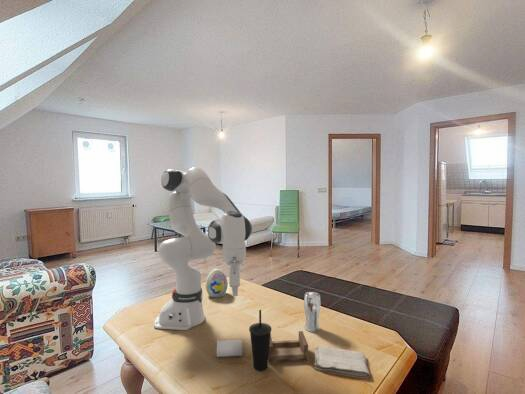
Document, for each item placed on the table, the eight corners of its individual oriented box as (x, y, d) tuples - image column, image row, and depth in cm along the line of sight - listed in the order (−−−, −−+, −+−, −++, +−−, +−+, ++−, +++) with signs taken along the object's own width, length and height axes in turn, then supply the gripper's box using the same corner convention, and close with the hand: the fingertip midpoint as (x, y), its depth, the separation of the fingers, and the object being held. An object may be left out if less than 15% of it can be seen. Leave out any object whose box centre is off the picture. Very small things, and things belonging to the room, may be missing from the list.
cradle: (268, 363, 97) (268, 346, 97) (266, 347, 106) (266, 332, 106) (307, 361, 98) (307, 344, 98) (302, 346, 107) (302, 331, 107)
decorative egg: (205, 300, 150) (205, 273, 149) (205, 291, 162) (205, 266, 161) (228, 298, 152) (228, 271, 151) (226, 289, 164) (226, 265, 163)
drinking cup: (249, 360, 99) (248, 305, 98) (270, 359, 100) (270, 304, 98) (249, 375, 91) (249, 316, 90) (272, 373, 92) (272, 315, 91)
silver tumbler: (310, 322, 125) (310, 290, 124) (323, 328, 120) (323, 294, 119) (300, 328, 120) (300, 294, 119) (314, 334, 115) (314, 299, 114)
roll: (216, 359, 99) (216, 344, 99) (217, 352, 104) (217, 338, 105) (242, 358, 100) (241, 343, 100) (242, 351, 105) (242, 337, 105)
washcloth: (314, 351, 105) (315, 343, 104) (364, 357, 101) (365, 349, 101) (313, 372, 93) (313, 363, 93) (370, 380, 89) (370, 371, 89)
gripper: (243, 261, 94) (244, 301, 95) (242, 248, 115) (243, 281, 115) (224, 261, 94) (225, 302, 94) (227, 249, 114) (227, 282, 115)
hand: (235, 290), depth 105 cm, fingers open, 8 cm apart
